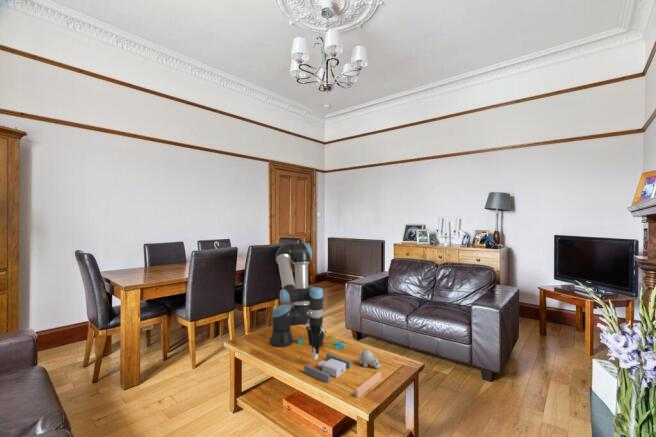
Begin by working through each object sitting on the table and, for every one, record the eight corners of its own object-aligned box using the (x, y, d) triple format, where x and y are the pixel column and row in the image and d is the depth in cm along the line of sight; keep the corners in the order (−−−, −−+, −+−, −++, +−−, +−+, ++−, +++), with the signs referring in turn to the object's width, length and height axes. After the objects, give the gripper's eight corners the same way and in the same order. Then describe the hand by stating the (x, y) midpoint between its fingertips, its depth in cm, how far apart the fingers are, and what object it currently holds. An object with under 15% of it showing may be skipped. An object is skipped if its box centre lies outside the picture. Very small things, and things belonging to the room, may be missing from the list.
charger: (323, 363, 173) (345, 371, 164) (313, 369, 165) (336, 378, 156) (323, 354, 173) (346, 362, 164) (313, 361, 165) (336, 369, 156)
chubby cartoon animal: (374, 376, 164) (379, 363, 162) (355, 362, 170) (361, 349, 168) (379, 370, 170) (385, 358, 168) (361, 357, 176) (366, 344, 174)
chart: (344, 347, 194) (344, 323, 194) (343, 349, 191) (343, 325, 191) (299, 342, 201) (299, 319, 201) (297, 344, 198) (297, 321, 198)
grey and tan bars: (302, 373, 161) (302, 366, 161) (328, 358, 178) (328, 352, 178) (357, 397, 139) (357, 390, 139) (381, 378, 157) (381, 371, 157)
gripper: (302, 315, 171) (302, 357, 171) (320, 320, 163) (320, 364, 163) (311, 312, 177) (311, 353, 177) (329, 317, 169) (328, 359, 169)
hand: (315, 358), depth 170 cm, fingers closed
